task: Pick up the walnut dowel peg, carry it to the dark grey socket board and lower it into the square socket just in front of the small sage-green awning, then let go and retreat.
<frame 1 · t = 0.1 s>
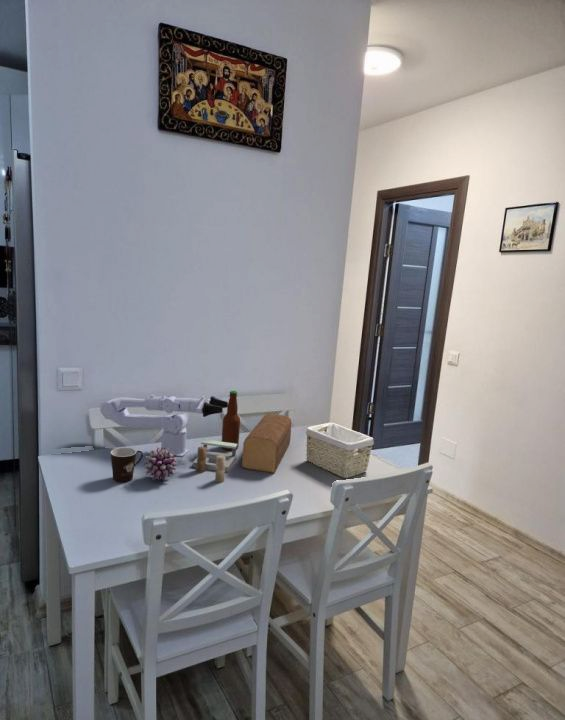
hand: (224, 407, 190), 22 cm above the table, tool horizontal, fingers open, 7 cm apart
walnut peg: (200, 470, 181), on the table
bottle: (229, 448, 207), on the table
socket board: (215, 463, 189), on the table
spiky ball: (160, 479, 171), on the table
bread: (267, 456, 202), on the table
coffee mug: (127, 478, 170), on the table
storage basket: (335, 466, 197), on the table
maple peg: (219, 480, 174), on the table
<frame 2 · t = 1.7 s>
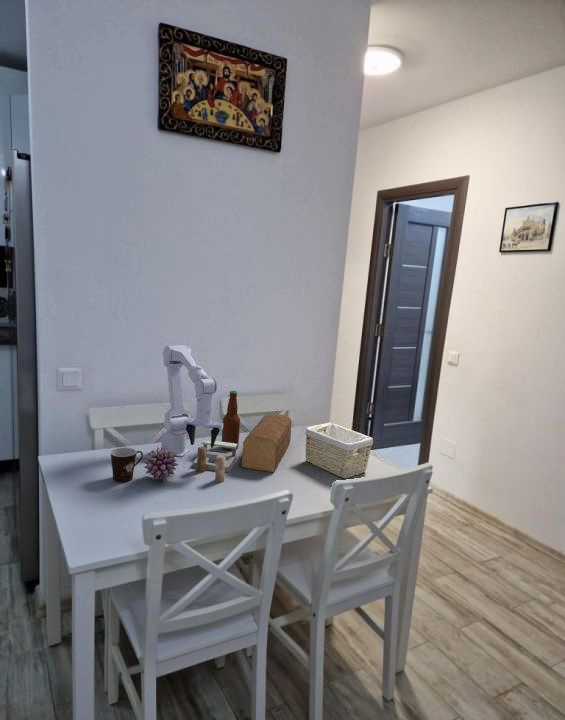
hand: (202, 445, 179), 10 cm above the table, tool pointing down, fingers open, 7 cm apart
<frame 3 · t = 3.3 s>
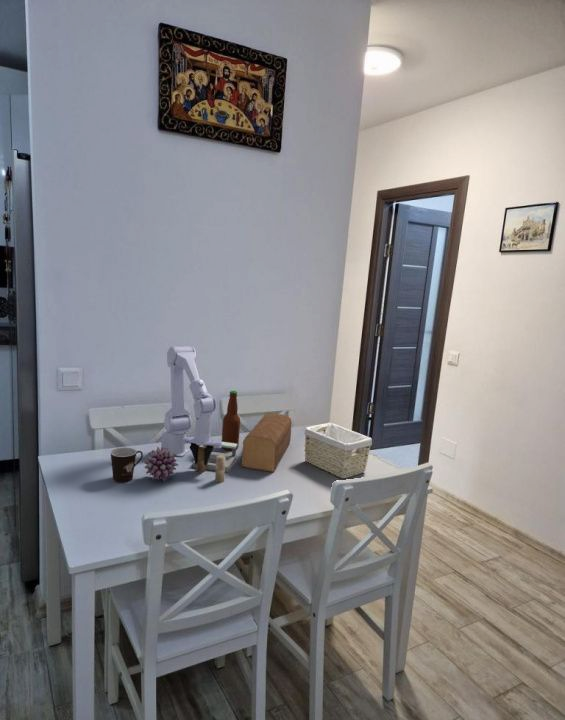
hand: (201, 463, 181), 3 cm above the table, tool pointing down, fingers closed on walnut peg, 3 cm apart
walnut peg: (200, 470, 181), on the table, touching gripper
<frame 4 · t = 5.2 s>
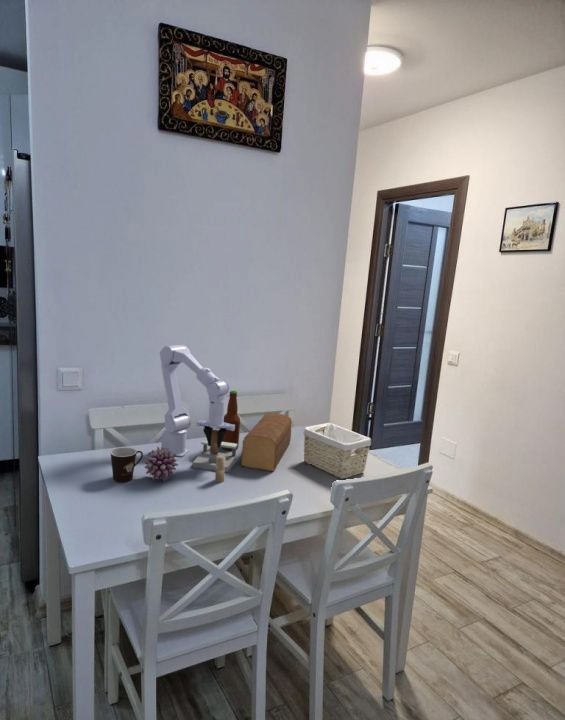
hand: (214, 446, 185), 8 cm above the table, tool pointing down, fingers closed on walnut peg, 3 cm apart
walnut peg: (214, 453, 186), point 5 cm above the table, touching gripper
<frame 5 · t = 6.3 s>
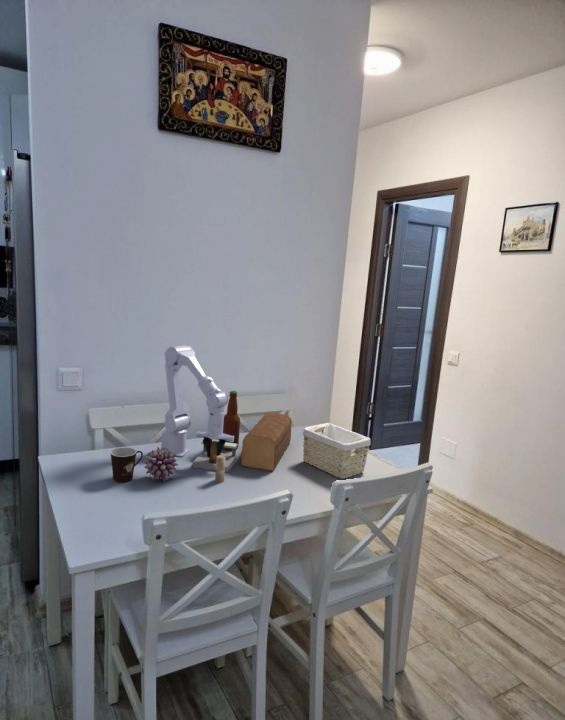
hand: (213, 457, 186), 4 cm above the table, tool pointing down, fingers closed on walnut peg, 3 cm apart
walnut peg: (213, 464, 187), point 1 cm above the table, touching gripper
when the fingers open (4 cm above the table, at t = 7.0 s): walnut peg stays where it is, resting in socket board.
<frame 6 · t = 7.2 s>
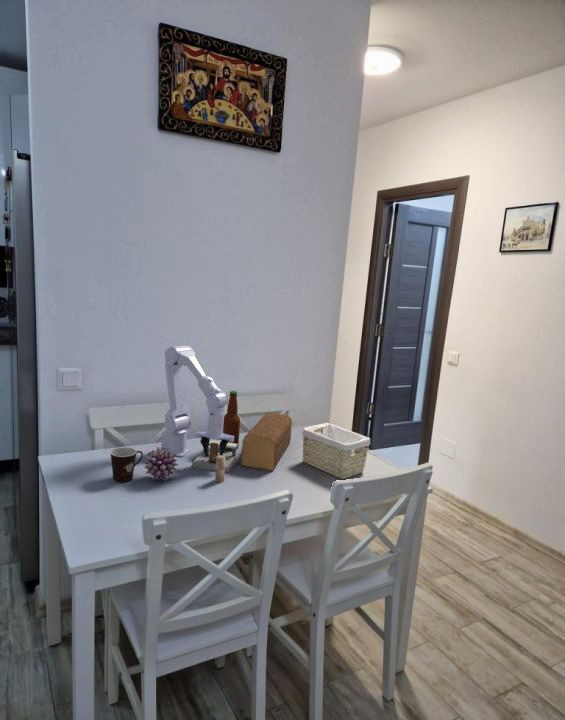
hand: (213, 457, 186), 4 cm above the table, tool pointing down, fingers open, 5 cm apart
walnut peg: (213, 465, 187), resting in socket board
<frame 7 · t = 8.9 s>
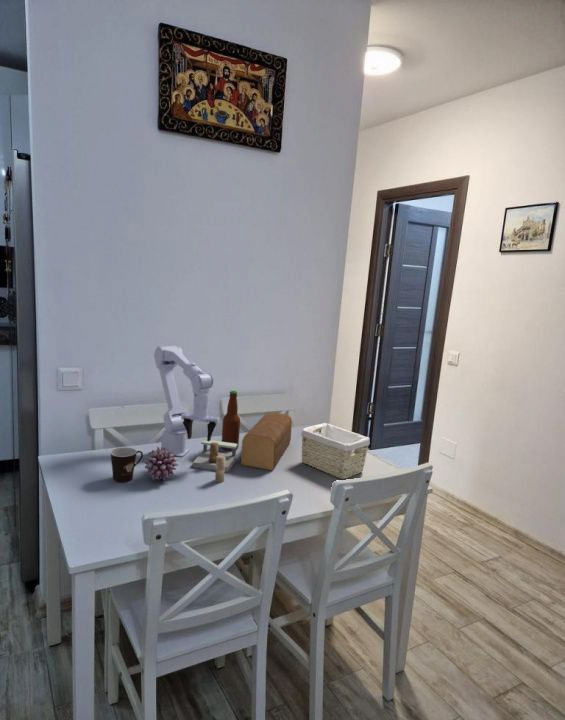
hand: (199, 439, 185), 10 cm above the table, tool pointing down, fingers open, 7 cm apart
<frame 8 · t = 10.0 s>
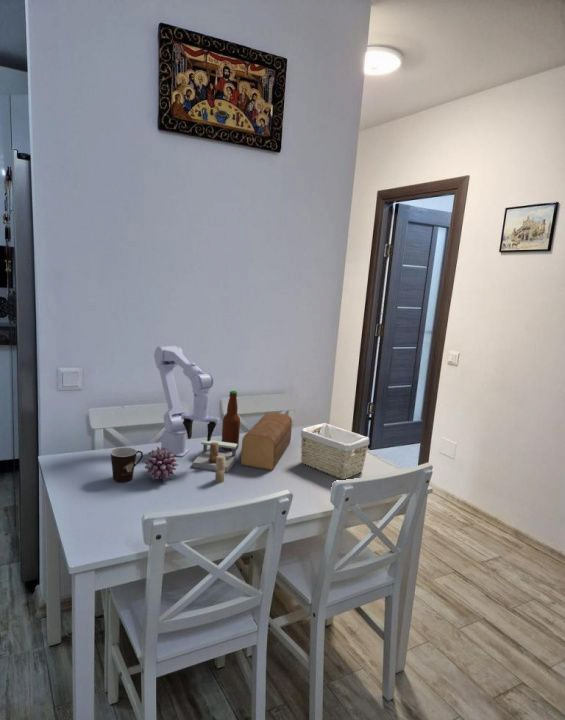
hand: (199, 439, 185), 10 cm above the table, tool pointing down, fingers open, 7 cm apart
at the end: walnut peg 0.1 cm from the target spot on the socket board, point 0.0 cm above the socket board's base; walnut peg tilted 0°; the gripper is holding nothing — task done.
